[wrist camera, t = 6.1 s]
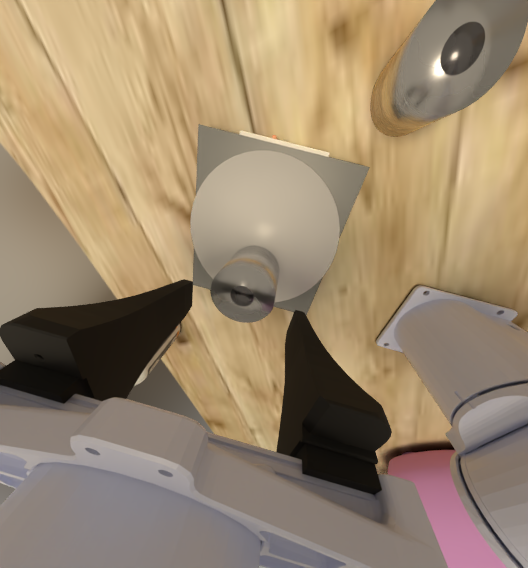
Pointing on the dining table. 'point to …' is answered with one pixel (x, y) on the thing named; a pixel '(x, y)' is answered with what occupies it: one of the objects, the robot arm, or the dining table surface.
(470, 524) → the teapot
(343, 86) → the dining table surface
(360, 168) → the kitchen scale
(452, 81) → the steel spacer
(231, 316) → the cylinder
